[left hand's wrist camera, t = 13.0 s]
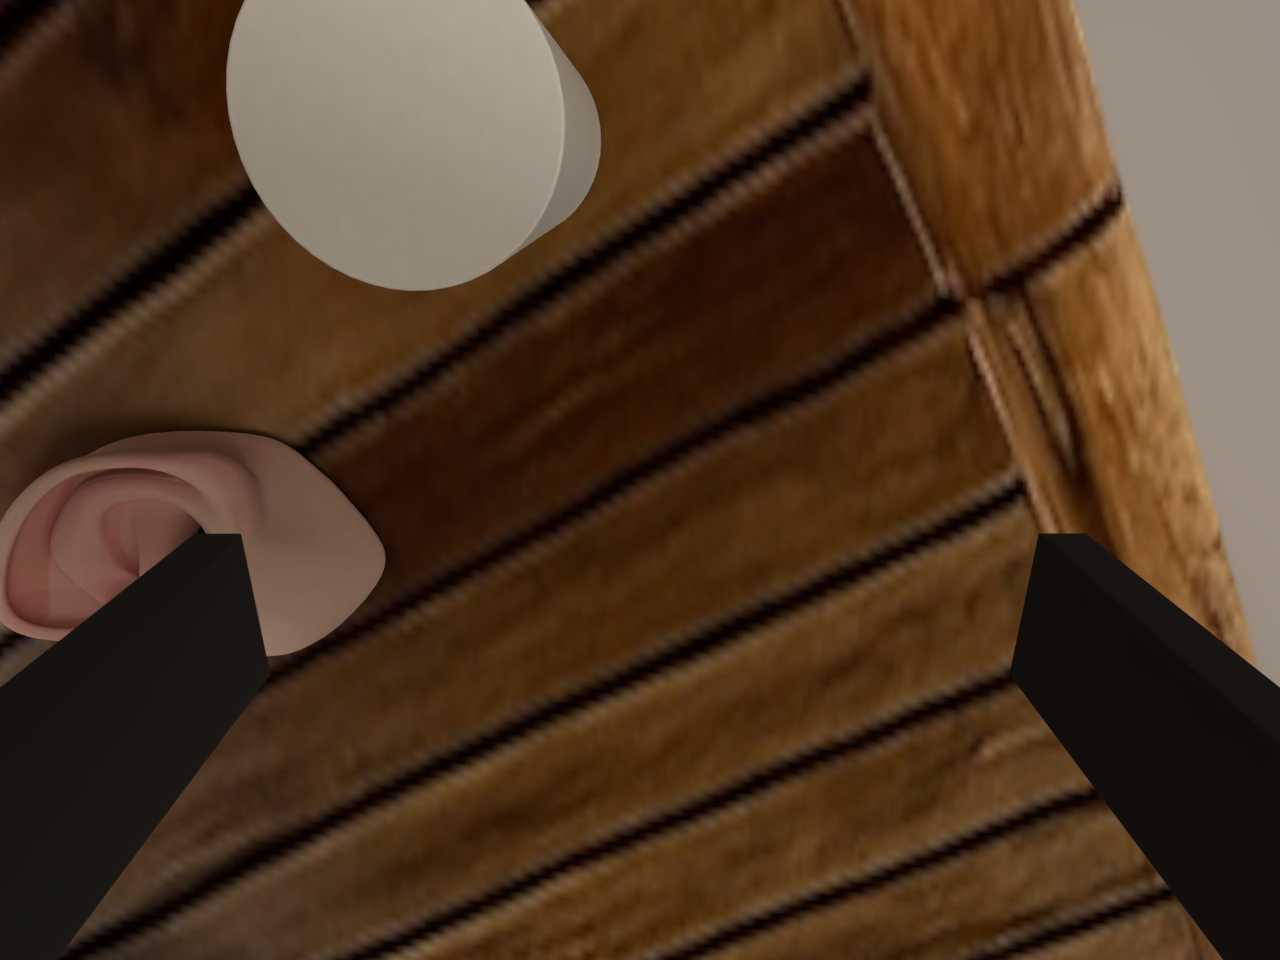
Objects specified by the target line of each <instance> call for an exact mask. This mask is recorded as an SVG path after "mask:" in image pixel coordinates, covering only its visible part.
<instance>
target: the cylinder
mask: <svg viewBox="0 0 1280 960" xmlns="http://www.w3.org/2000/svg"><path fill="white" fill-rule="evenodd" d="M226 94H227V104H228V113H229V119H230V123H231V128H232V132H233V137H234V140H235V143H236V146H237V149H238V152H239V155H240V158H241V161H242V163H243V165H244V168H245V170H246V172H247V174H248V176H249V178H250V180H251V183H252V185H253V186H254V188H255V189H256V191H257V193H258V194H259V196H260V198H261V199H262V201H263V203H264V204H265V206H266V207H267V208H268V209H269V211H270V212H271V213H272V215H273V216H274V217H275V219H276V220H277V221H278V223H279V224H280V225H281V226H282V227H283V228H284V229H285V230H286V231H287V232H288V233H289V234H290V235H291V236H292V237H293V238H294V239H295V240H296V241H297V242H298V243H299V244H300V245H302V246H303V247H304V248H305V249H306V250H308V251H309V252H310V253H311V254H312V255H314V256H315V257H317V258H318V259H320V260H321V261H323V262H324V263H326V264H327V265H329V266H330V267H332V268H334V269H336V270H338V271H340V272H342V273H344V274H346V275H348V276H350V277H352V278H355V279H358V280H360V281H363V282H366V283H369V284H372V285H376V286H380V287H385V288H389V289H397V290H407V291H423V290H436V289H441V288H447V287H452V286H455V285H458V284H461V283H465V282H468V281H471V280H473V279H475V278H477V277H479V276H481V275H483V274H485V273H487V272H489V271H490V270H492V269H493V268H495V267H496V266H498V265H499V264H501V263H502V262H504V261H505V260H507V259H508V258H510V257H511V256H513V255H514V254H516V253H517V252H518V251H520V250H521V249H523V248H524V247H526V246H527V245H529V244H530V243H532V242H533V241H535V240H536V239H538V238H539V237H541V236H542V235H544V234H545V233H547V232H548V231H550V230H551V229H552V228H554V227H555V226H557V225H558V224H560V223H561V222H563V221H564V220H565V219H567V218H568V217H569V216H570V215H571V214H572V213H573V212H574V211H575V210H576V209H577V208H578V206H579V205H580V204H581V203H582V201H583V200H584V198H585V197H586V195H587V193H588V192H589V190H590V187H591V185H592V183H593V181H594V178H595V175H596V172H597V169H598V164H599V159H600V150H601V131H600V123H599V118H598V113H597V110H596V106H595V103H594V100H593V98H592V96H591V93H590V91H589V89H588V87H587V85H586V83H585V82H584V80H583V78H582V77H581V75H580V74H579V73H578V71H577V70H576V69H575V67H574V66H573V64H572V63H571V62H570V60H569V59H568V58H567V56H566V55H565V54H564V52H563V51H562V50H561V48H560V47H559V46H558V44H557V43H556V42H555V40H554V39H553V38H552V36H551V35H550V34H549V32H548V31H547V29H546V28H545V27H544V25H543V24H542V23H541V21H540V20H539V19H538V17H537V16H536V15H535V13H534V12H533V11H532V9H531V8H530V7H529V5H528V4H527V3H526V1H525V0H244V3H243V5H242V7H241V10H240V12H239V14H238V16H237V19H236V22H235V26H234V29H233V33H232V37H231V40H230V46H229V53H228V59H227V71H226Z"/></svg>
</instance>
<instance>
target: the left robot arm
mask: <svg viewBox="0 0 1280 960" xmlns="http://www.w3.org/2000/svg"><path fill="white" fill-rule="evenodd" d="M269 676H270V670H269V665H268V661H267V656H266V651H265V646H264V641H263V637H262V632H261V627H260V622H259V617H258V612H257V608H256V603H255V598H254V593H253V588H252V584H251V579H250V574H249V569H248V564H247V560H246V555H245V550H244V545H243V540H242V535H241V534H193V535H192V536H191V537H190V538H188V539H187V540H186V541H185V542H183V543H182V544H181V545H180V546H178V547H177V548H176V549H174V550H173V551H172V552H171V553H169V554H168V555H167V556H166V557H164V558H163V559H162V560H161V561H159V562H158V563H157V564H156V565H154V566H153V567H152V568H150V569H149V570H148V571H147V572H145V573H144V574H143V575H142V576H140V577H139V578H138V579H137V580H135V581H134V582H133V583H132V584H130V585H129V586H128V587H127V588H125V589H124V590H123V591H121V592H120V593H119V594H118V595H116V596H115V597H114V598H113V599H111V600H110V601H109V602H108V603H106V604H105V605H104V606H103V607H101V608H100V609H99V610H98V611H96V612H95V613H94V614H92V615H91V616H90V617H89V618H87V619H86V620H85V621H84V622H82V623H81V624H80V625H79V626H77V627H76V628H75V629H74V630H72V631H71V632H70V633H68V634H67V635H66V636H65V637H63V638H62V639H61V640H60V641H58V642H57V643H56V644H55V645H53V646H52V647H51V648H50V649H48V650H47V651H46V652H45V653H43V654H42V655H41V656H39V657H38V658H37V659H36V660H34V661H33V662H32V663H31V664H29V665H28V666H27V667H26V668H24V669H23V670H22V671H21V672H19V673H18V674H17V675H15V676H14V677H13V678H12V679H10V680H9V681H8V682H7V683H5V684H4V685H3V686H2V687H0V960H57V959H58V957H59V956H60V955H61V953H62V952H63V951H64V949H65V948H66V947H67V945H68V944H69V943H70V941H71V940H72V939H73V937H74V936H75V935H76V933H77V932H78V931H79V929H80V928H81V927H82V925H83V924H84V923H85V921H86V920H87V919H88V917H89V916H90V915H91V913H92V912H93V911H94V909H95V908H96V907H97V905H98V904H99V903H100V901H101V900H102V899H103V897H104V896H105V895H106V893H107V892H108V891H109V889H110V888H111V887H112V885H113V884H114V883H115V881H116V880H117V879H118V877H119V876H120V875H121V873H122V872H123V871H124V869H125V868H126V867H127V865H128V864H129V863H130V861H131V860H132V859H133V857H134V856H135V855H136V853H137V852H138V851H139V849H140V848H141V847H142V845H143V844H144V842H145V841H146V840H147V838H148V837H149V836H150V834H151V833H152V832H153V830H154V829H155V828H156V826H157V825H158V824H159V822H160V821H161V820H162V818H163V817H164V816H165V814H166V813H167V812H168V810H169V809H170V808H171V806H172V805H173V804H174V802H175V801H176V800H177V798H178V797H179V796H180V794H181V793H182V792H183V790H184V789H185V788H186V786H187V785H188V784H189V782H190V781H191V780H192V778H193V777H194V776H195V774H196V773H197V772H198V770H199V769H200V768H201V766H202V765H203V764H204V762H205V761H206V760H207V758H208V757H209V756H210V754H211V753H212V752H213V750H214V749H215V748H216V746H217V745H218V744H219V742H220V741H221V740H222V738H223V737H224V736H225V734H226V733H227V732H228V730H229V729H230V728H231V726H232V725H233V724H234V722H235V721H236V720H237V718H238V717H239V716H240V714H241V713H242V712H243V710H244V709H245V708H246V706H247V705H248V704H249V702H250V701H251V700H252V698H253V697H254V696H255V694H256V693H257V692H258V690H259V689H260V688H261V686H262V685H263V684H264V682H265V681H266V680H267V678H268V677H269ZM1010 676H1011V677H1012V678H1013V680H1014V681H1015V682H1016V684H1017V685H1018V686H1019V688H1020V689H1021V690H1022V692H1023V693H1024V694H1025V696H1026V697H1027V698H1028V700H1029V701H1030V702H1031V704H1032V705H1033V706H1034V708H1035V709H1036V710H1037V712H1038V713H1039V714H1040V716H1041V717H1042V718H1043V720H1044V721H1045V722H1046V724H1047V725H1048V726H1049V728H1050V729H1051V730H1052V732H1053V733H1054V734H1055V736H1056V737H1057V738H1058V740H1059V741H1060V742H1061V744H1062V745H1063V746H1064V748H1065V749H1066V750H1067V752H1068V753H1069V754H1070V756H1071V757H1072V758H1073V760H1074V761H1075V762H1076V764H1077V765H1078V766H1079V768H1080V769H1081V770H1082V772H1083V773H1084V774H1085V776H1086V777H1087V778H1088V780H1089V781H1090V782H1091V784H1092V785H1093V786H1094V788H1095V789H1096V790H1097V792H1098V793H1099V794H1100V796H1101V797H1102V798H1103V800H1104V801H1105V802H1106V804H1107V805H1108V806H1109V808H1110V809H1111V810H1112V812H1113V813H1114V814H1115V816H1116V817H1117V818H1118V820H1119V821H1120V822H1121V824H1122V825H1123V826H1124V828H1125V829H1126V830H1127V832H1128V833H1129V834H1130V836H1131V837H1132V838H1133V840H1134V841H1135V842H1136V844H1137V845H1138V847H1139V848H1140V849H1141V851H1142V852H1143V853H1144V855H1145V856H1146V857H1147V859H1148V860H1149V861H1150V863H1151V864H1152V865H1153V867H1154V868H1155V869H1156V871H1157V872H1158V873H1159V875H1160V876H1161V877H1162V879H1163V880H1164V881H1165V883H1166V884H1167V885H1168V887H1169V888H1170V889H1171V891H1172V892H1173V893H1174V895H1175V896H1176V897H1177V899H1178V900H1179V901H1180V903H1181V904H1182V905H1183V907H1184V908H1185V909H1186V911H1187V912H1188V913H1189V915H1190V916H1191V917H1192V919H1193V920H1194V921H1195V923H1196V924H1197V925H1198V927H1199V928H1200V929H1201V931H1202V932H1203V933H1204V935H1205V936H1206V937H1207V939H1208V940H1209V941H1210V943H1211V944H1212V945H1213V947H1214V948H1215V949H1216V951H1217V952H1218V953H1219V955H1220V956H1221V957H1222V959H1223V960H1280V687H1278V686H1277V685H1276V684H1275V683H1273V682H1272V681H1271V680H1270V679H1268V678H1267V677H1266V676H1265V675H1263V674H1262V673H1261V672H1259V671H1258V670H1257V669H1256V668H1254V667H1253V666H1252V665H1251V664H1249V663H1248V662H1247V661H1246V660H1244V659H1243V658H1242V657H1241V656H1239V655H1238V654H1237V653H1235V652H1234V651H1233V650H1232V649H1230V648H1229V647H1228V646H1227V645H1225V644H1224V643H1223V642H1222V641H1220V640H1219V639H1218V638H1217V637H1215V636H1214V635H1213V634H1212V633H1210V632H1209V631H1208V630H1206V629H1205V628H1204V627H1203V626H1201V625H1200V624H1199V623H1198V622H1196V621H1195V620H1194V619H1193V618H1191V617H1190V616H1189V615H1188V614H1186V613H1185V612H1184V611H1182V610H1181V609H1180V608H1179V607H1177V606H1176V605H1175V604H1174V603H1172V602H1171V601H1170V600H1169V599H1167V598H1166V597H1165V596H1164V595H1162V594H1161V593H1160V592H1159V591H1157V590H1156V589H1155V588H1153V587H1152V586H1151V585H1150V584H1148V583H1147V582H1146V581H1145V580H1143V579H1142V578H1141V577H1140V576H1138V575H1137V574H1136V573H1135V572H1133V571H1132V570H1131V569H1129V568H1128V567H1127V566H1126V565H1124V564H1123V563H1122V562H1121V561H1119V560H1118V559H1117V558H1116V557H1114V556H1113V555H1112V554H1111V553H1109V552H1108V551H1107V550H1106V549H1104V548H1103V547H1102V546H1100V545H1099V544H1098V543H1097V542H1095V541H1094V540H1093V539H1092V538H1090V537H1089V536H1088V535H1087V534H1039V535H1038V540H1037V545H1036V550H1035V555H1034V560H1033V564H1032V569H1031V574H1030V579H1029V584H1028V588H1027V593H1026V598H1025V603H1024V608H1023V612H1022V617H1021V622H1020V627H1019V632H1018V637H1017V641H1016V646H1015V651H1014V656H1013V661H1012V665H1011V670H1010Z"/></svg>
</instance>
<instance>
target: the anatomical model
mask: <svg viewBox="0 0 1280 960" xmlns="http://www.w3.org/2000/svg"><path fill="white" fill-rule="evenodd" d="M193 534H241V535H242V540H243V545H244V550H245V555H246V560H247V564H248V569H249V574H250V579H251V584H252V588H253V593H254V598H255V603H256V608H257V612H258V617H259V622H260V627H261V632H262V637H263V641H264V646H265V651H266V656H277V655H284V654H289V653H292V652H295V651H299V650H301V649H303V648H305V647H307V646H309V645H311V644H313V643H315V642H316V641H318V640H320V639H322V638H323V637H325V636H326V635H327V634H329V633H330V632H331V631H333V630H334V629H335V628H337V627H338V626H339V625H340V624H341V623H342V622H343V621H345V620H346V619H347V618H348V617H349V616H350V615H351V614H352V613H353V612H354V611H355V610H356V609H357V608H358V607H359V606H360V604H361V603H362V602H363V601H364V600H365V599H366V598H367V597H368V595H369V594H370V592H371V591H372V590H373V588H374V587H375V586H376V584H377V582H378V581H379V579H380V577H381V575H382V573H383V570H384V567H385V552H384V548H383V546H382V543H381V541H380V539H379V538H378V536H377V534H376V533H375V531H374V530H373V529H372V527H371V526H370V525H369V523H368V522H367V520H366V519H365V518H364V517H363V516H362V514H361V513H360V512H359V511H358V510H357V509H356V508H355V507H354V505H353V504H352V503H351V502H350V501H349V500H348V499H347V497H346V496H345V495H344V494H343V493H342V492H341V491H340V489H339V488H338V487H337V486H336V485H335V484H334V483H333V482H332V481H331V480H330V479H329V478H327V477H326V476H325V475H324V474H323V473H322V472H321V471H319V470H318V469H317V468H316V467H315V466H314V465H312V464H311V463H310V462H309V461H308V460H307V459H305V458H304V457H303V456H302V455H301V454H299V453H298V452H296V451H295V450H293V449H292V448H290V447H289V446H287V445H285V444H283V443H281V442H279V441H277V440H274V439H271V438H268V437H264V436H258V435H252V434H247V433H235V432H218V431H173V432H161V433H150V434H144V435H139V436H134V437H129V438H125V439H122V440H119V441H116V442H113V443H110V444H108V445H106V446H104V447H101V448H99V449H97V450H95V451H94V452H92V453H90V454H88V455H86V456H82V457H79V458H75V459H72V460H69V461H67V462H64V463H62V464H60V465H58V466H56V467H54V468H52V469H50V470H48V471H47V472H46V473H44V474H43V475H41V476H40V477H38V478H37V479H36V480H35V481H34V482H32V483H31V484H30V485H29V486H28V487H27V488H26V489H25V490H24V491H23V492H22V493H21V494H20V495H19V496H18V497H17V499H16V500H15V501H14V502H13V503H12V505H11V506H10V507H9V509H8V510H7V511H6V513H5V515H4V517H3V518H2V520H1V522H0V621H1V622H2V623H3V624H4V625H6V626H7V627H8V628H10V629H11V630H13V631H15V632H17V633H20V634H22V635H25V636H29V637H33V638H38V639H44V640H54V641H60V640H61V639H62V638H63V637H65V636H66V635H67V634H68V633H70V632H71V631H72V630H74V629H75V628H76V627H77V626H79V625H80V624H81V623H82V622H84V621H85V620H86V619H87V618H89V617H90V616H91V615H92V614H94V613H95V612H96V611H98V610H99V609H100V608H101V607H103V606H104V605H105V604H106V603H108V602H109V601H110V600H111V599H113V598H114V597H115V596H116V595H118V594H119V593H120V592H121V591H123V590H124V589H125V588H127V587H128V586H129V585H130V584H132V583H133V582H134V581H135V580H137V579H138V578H139V577H140V576H142V575H143V574H144V573H145V572H147V571H148V570H149V569H150V568H152V567H153V566H154V565H156V564H157V563H158V562H159V561H161V560H162V559H163V558H164V557H166V556H167V555H168V554H169V553H171V552H172V551H173V550H174V549H176V548H177V547H178V546H180V545H181V544H182V543H183V542H185V541H186V540H187V539H188V538H190V537H191V536H192V535H193Z"/></svg>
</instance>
